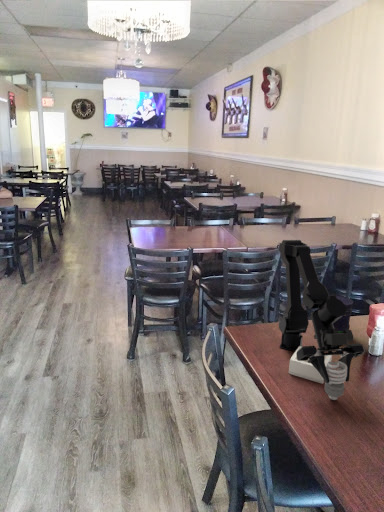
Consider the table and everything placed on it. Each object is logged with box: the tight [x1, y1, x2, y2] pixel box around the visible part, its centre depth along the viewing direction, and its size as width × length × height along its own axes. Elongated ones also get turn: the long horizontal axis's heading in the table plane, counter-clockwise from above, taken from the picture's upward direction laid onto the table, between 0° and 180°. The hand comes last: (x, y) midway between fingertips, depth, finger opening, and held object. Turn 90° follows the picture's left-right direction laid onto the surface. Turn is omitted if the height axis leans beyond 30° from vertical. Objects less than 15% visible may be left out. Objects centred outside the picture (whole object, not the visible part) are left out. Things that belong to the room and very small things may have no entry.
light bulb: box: [324, 360, 347, 401], centre depth 114 cm, size 6×6×12 cm
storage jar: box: [333, 294, 354, 333], centre depth 154 cm, size 10×10×15 cm
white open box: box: [288, 345, 333, 384], centre depth 130 cm, size 11×11×5 cm
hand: (337, 382), depth 113 cm, fingers closed on light bulb, 5 cm apart
